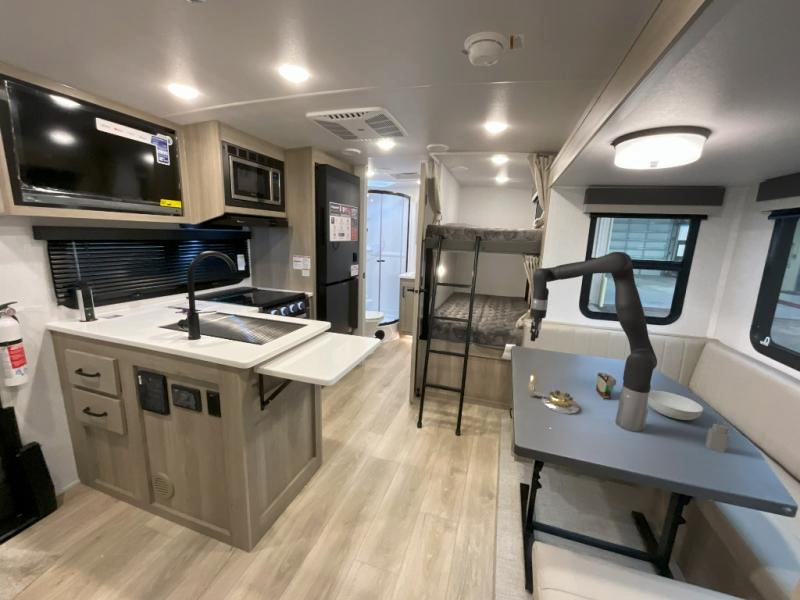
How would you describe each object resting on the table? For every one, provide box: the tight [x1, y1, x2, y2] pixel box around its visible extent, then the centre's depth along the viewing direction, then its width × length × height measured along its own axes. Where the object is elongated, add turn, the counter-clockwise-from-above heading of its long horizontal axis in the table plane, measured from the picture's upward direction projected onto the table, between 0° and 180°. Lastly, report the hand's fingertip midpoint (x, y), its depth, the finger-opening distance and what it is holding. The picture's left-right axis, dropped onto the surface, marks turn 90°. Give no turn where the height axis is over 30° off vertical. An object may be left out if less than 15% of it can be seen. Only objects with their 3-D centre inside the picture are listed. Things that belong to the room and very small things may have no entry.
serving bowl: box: [647, 390, 704, 421], centre depth 151 cm, size 21×21×7 cm
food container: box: [595, 372, 617, 400], centre depth 166 cm, size 12×6×10 cm, turn 168°
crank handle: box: [527, 373, 574, 407], centre depth 154 cm, size 20×10×9 cm, turn 56°
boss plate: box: [541, 396, 580, 415], centre depth 153 cm, size 16×16×2 cm
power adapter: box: [704, 419, 731, 453], centre depth 125 cm, size 3×5×12 cm, turn 60°
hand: (534, 339), depth 167 cm, fingers open, 6 cm apart
